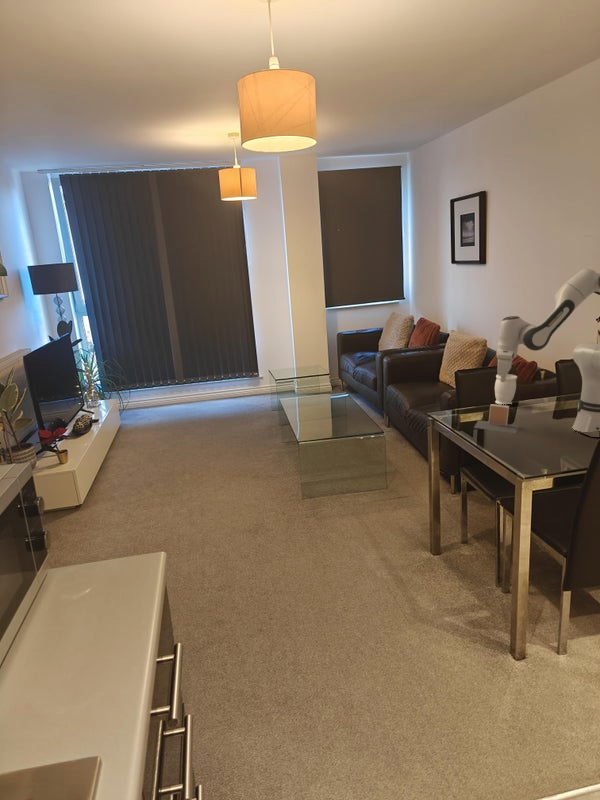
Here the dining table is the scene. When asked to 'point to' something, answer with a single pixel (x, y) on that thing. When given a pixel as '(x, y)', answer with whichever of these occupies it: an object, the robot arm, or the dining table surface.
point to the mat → (496, 427)
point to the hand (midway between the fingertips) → (503, 381)
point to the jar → (505, 389)
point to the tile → (498, 414)
